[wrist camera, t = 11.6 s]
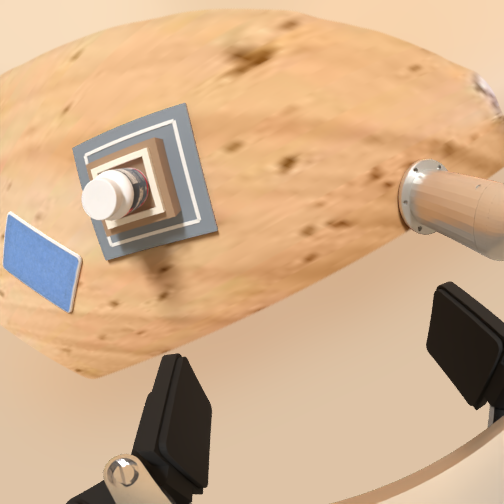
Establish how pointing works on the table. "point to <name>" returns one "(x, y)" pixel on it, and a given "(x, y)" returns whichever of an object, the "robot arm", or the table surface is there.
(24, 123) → the table surface
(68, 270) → the blue rectangular panel
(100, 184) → the pill bottle
